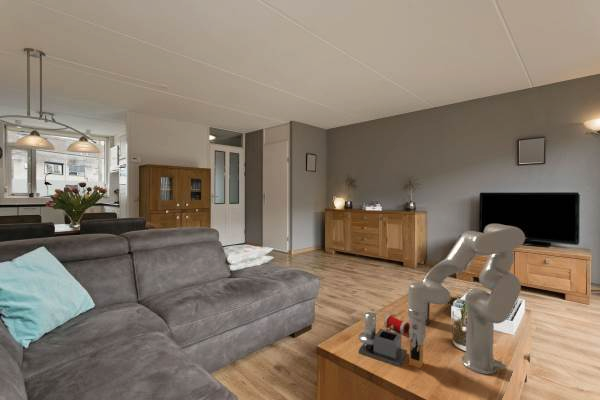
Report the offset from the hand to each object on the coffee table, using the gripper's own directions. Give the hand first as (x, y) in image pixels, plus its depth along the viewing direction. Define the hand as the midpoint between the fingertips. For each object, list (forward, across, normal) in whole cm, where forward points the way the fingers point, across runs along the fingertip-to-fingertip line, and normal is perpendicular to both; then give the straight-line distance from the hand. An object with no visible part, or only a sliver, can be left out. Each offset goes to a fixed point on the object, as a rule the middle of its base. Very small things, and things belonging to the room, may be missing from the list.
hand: (416, 355), depth 120 cm
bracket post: (+3, 0, +16) cm, 16 cm away
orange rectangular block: (+3, 0, 0) cm, 3 cm away
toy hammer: (+4, +21, +16) cm, 27 cm away
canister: (+4, +45, +7) cm, 46 cm away
